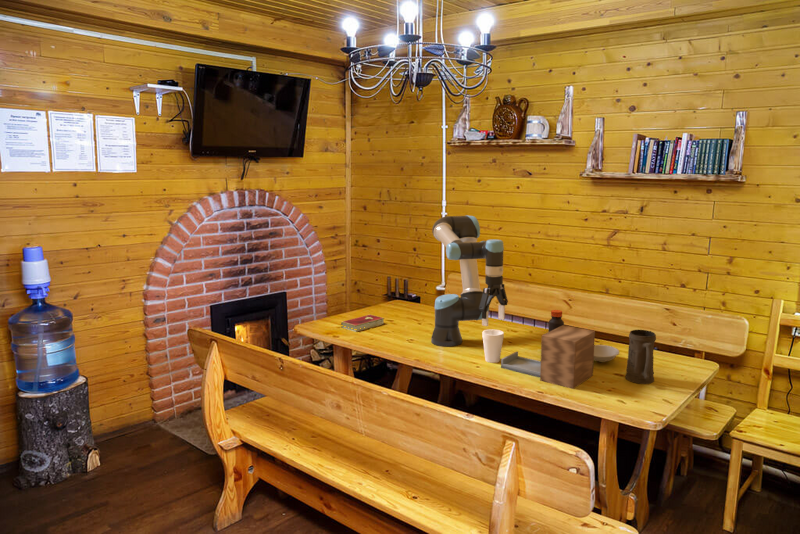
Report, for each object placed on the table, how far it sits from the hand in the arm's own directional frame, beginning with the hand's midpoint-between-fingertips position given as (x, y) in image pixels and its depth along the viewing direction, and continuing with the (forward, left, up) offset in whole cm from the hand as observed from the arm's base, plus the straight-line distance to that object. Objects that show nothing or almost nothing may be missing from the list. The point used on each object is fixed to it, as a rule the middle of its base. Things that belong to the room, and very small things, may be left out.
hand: (493, 322), depth 255 cm
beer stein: (+60, +16, -18) cm, 64 cm away
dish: (+38, +29, -18) cm, 51 cm away
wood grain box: (+35, +1, -18) cm, 39 cm away
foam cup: (0, 0, -18) cm, 18 cm away
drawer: (+18, +1, -18) cm, 25 cm away
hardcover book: (-85, +4, -18) cm, 87 cm away
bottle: (+17, +27, -18) cm, 36 cm away
